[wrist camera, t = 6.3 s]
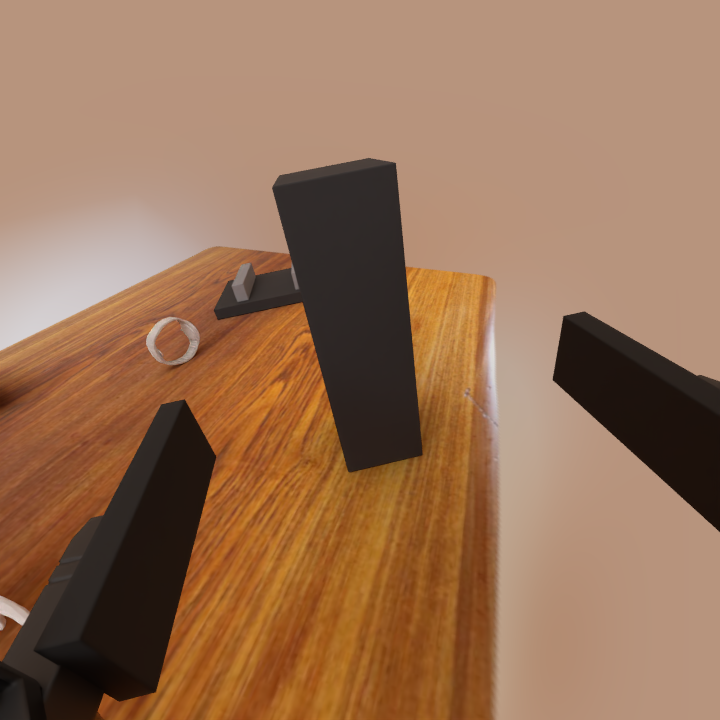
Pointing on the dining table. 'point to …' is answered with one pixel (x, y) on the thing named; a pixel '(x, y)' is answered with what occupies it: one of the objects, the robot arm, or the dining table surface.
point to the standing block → (356, 302)
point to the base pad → (257, 292)
